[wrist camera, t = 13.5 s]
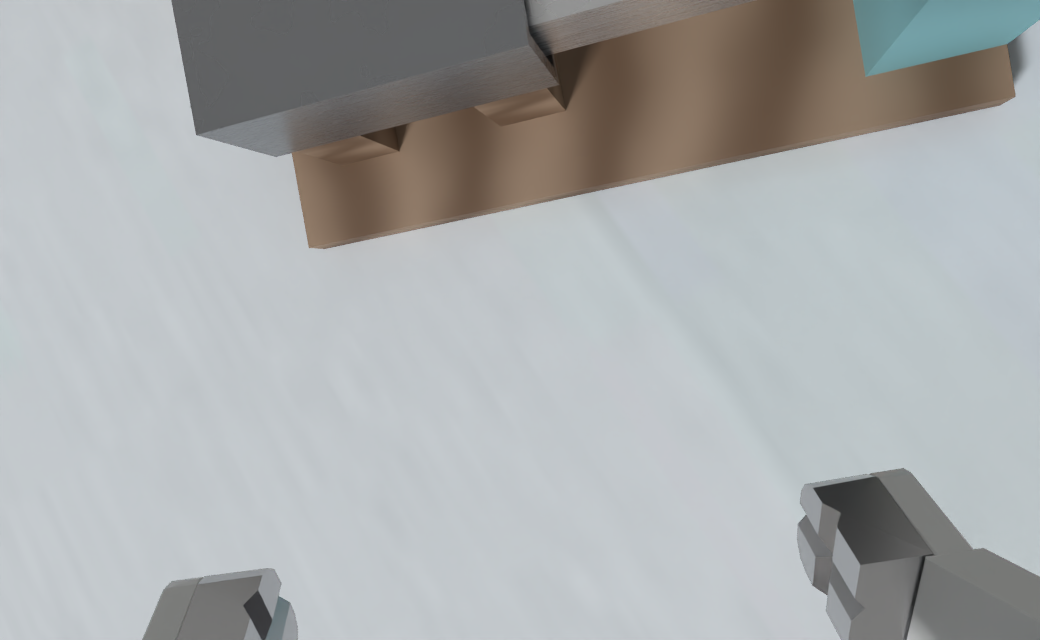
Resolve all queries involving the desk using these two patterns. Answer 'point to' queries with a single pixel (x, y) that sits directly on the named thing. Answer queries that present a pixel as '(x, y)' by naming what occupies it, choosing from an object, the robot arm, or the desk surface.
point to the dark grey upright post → (606, 19)
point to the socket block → (936, 29)
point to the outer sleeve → (348, 65)
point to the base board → (638, 119)
